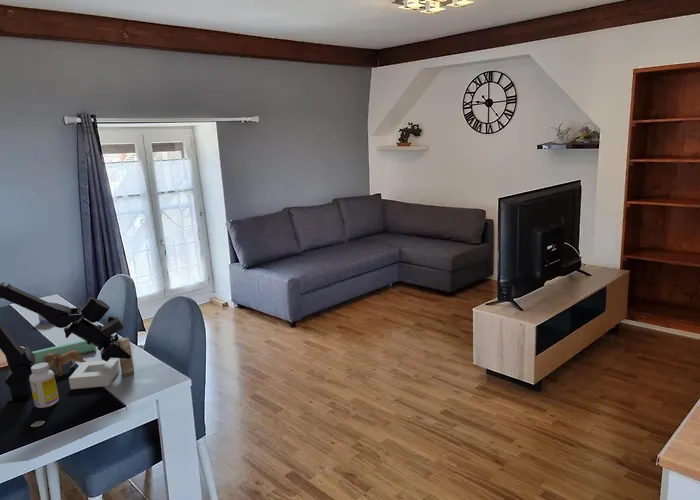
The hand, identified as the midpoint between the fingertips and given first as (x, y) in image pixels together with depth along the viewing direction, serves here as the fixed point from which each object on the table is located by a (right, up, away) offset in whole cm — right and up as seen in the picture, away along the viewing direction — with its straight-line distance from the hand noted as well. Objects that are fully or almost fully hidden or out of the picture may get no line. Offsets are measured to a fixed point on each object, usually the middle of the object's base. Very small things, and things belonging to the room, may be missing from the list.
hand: (129, 355), depth 177 cm
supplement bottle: (-19, -12, -17) cm, 28 cm away
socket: (-11, -8, -2) cm, 13 cm away
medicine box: (-60, +4, +55) cm, 81 cm away
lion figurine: (-24, -7, +4) cm, 26 cm away
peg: (-1, -7, +1) cm, 7 cm away
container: (-33, -5, +16) cm, 37 cm away
